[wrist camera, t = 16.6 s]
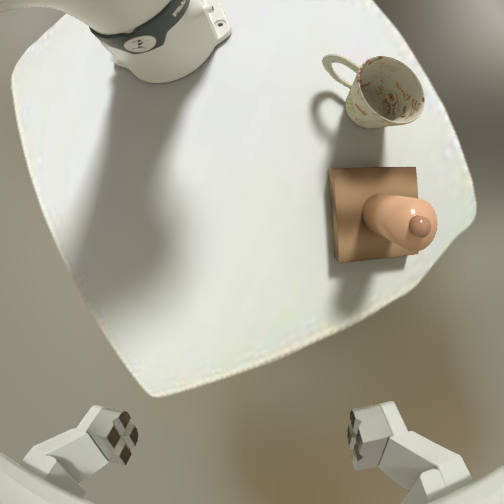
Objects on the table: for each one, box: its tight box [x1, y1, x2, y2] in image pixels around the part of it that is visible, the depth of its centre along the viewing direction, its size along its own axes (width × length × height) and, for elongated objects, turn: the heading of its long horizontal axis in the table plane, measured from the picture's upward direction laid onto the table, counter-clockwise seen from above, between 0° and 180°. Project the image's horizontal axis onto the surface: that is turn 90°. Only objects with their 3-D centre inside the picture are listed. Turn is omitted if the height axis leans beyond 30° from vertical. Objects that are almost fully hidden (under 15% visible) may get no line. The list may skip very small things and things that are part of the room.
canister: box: [362, 193, 437, 251], centre depth 28 cm, size 5×5×11 cm
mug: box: [322, 54, 424, 129], centre depth 28 cm, size 8×13×10 cm, turn 56°
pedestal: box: [328, 167, 418, 263], centre depth 35 cm, size 12×12×3 cm
